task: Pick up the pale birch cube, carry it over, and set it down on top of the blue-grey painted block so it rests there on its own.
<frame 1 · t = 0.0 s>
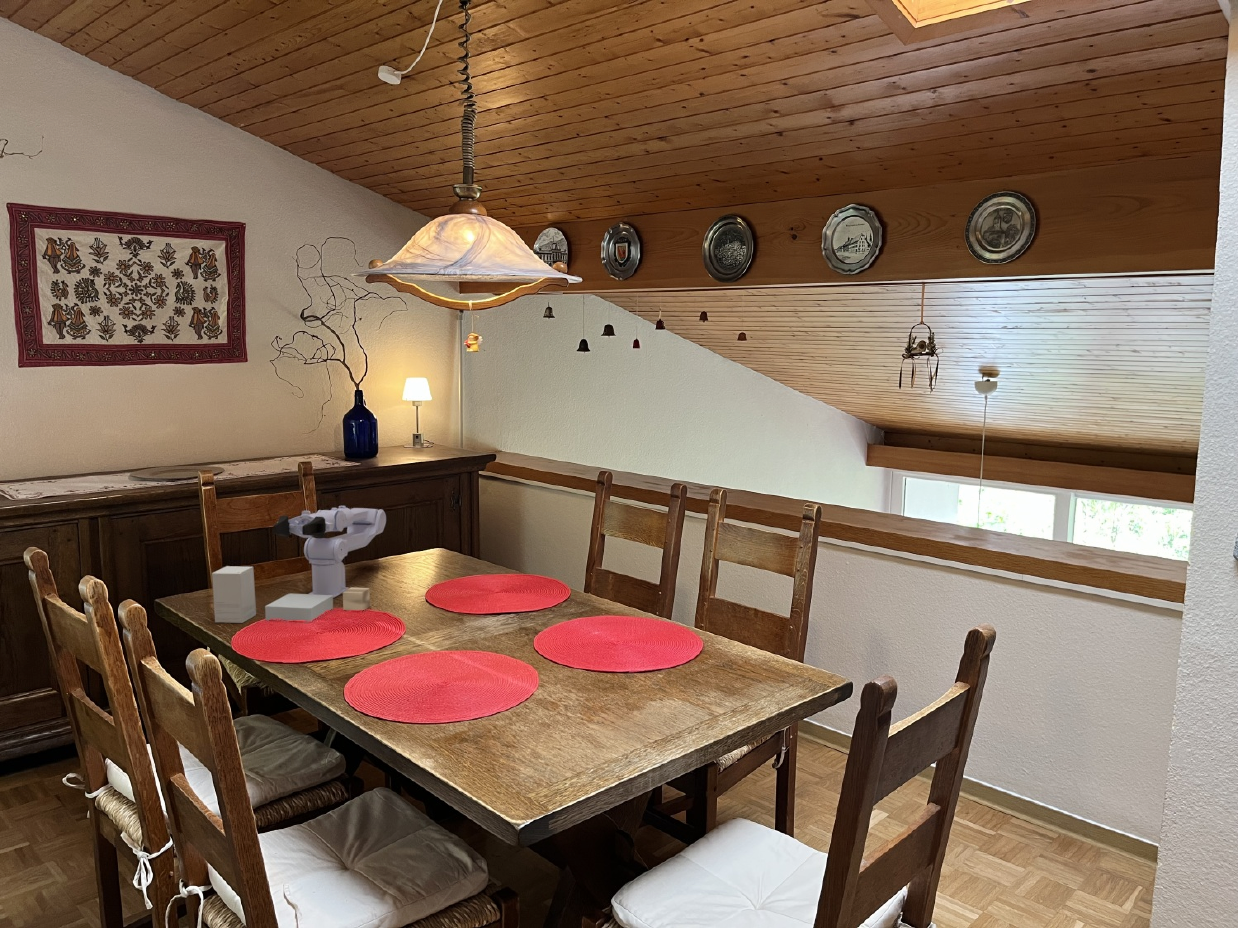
hand: (289, 529, 229), 22 cm above the table, tool horizontal, fingers open, 7 cm apart
supplement box: (235, 619, 228), on the table
birch cube: (356, 609, 237), on the table
grey block: (300, 615, 232), on the table
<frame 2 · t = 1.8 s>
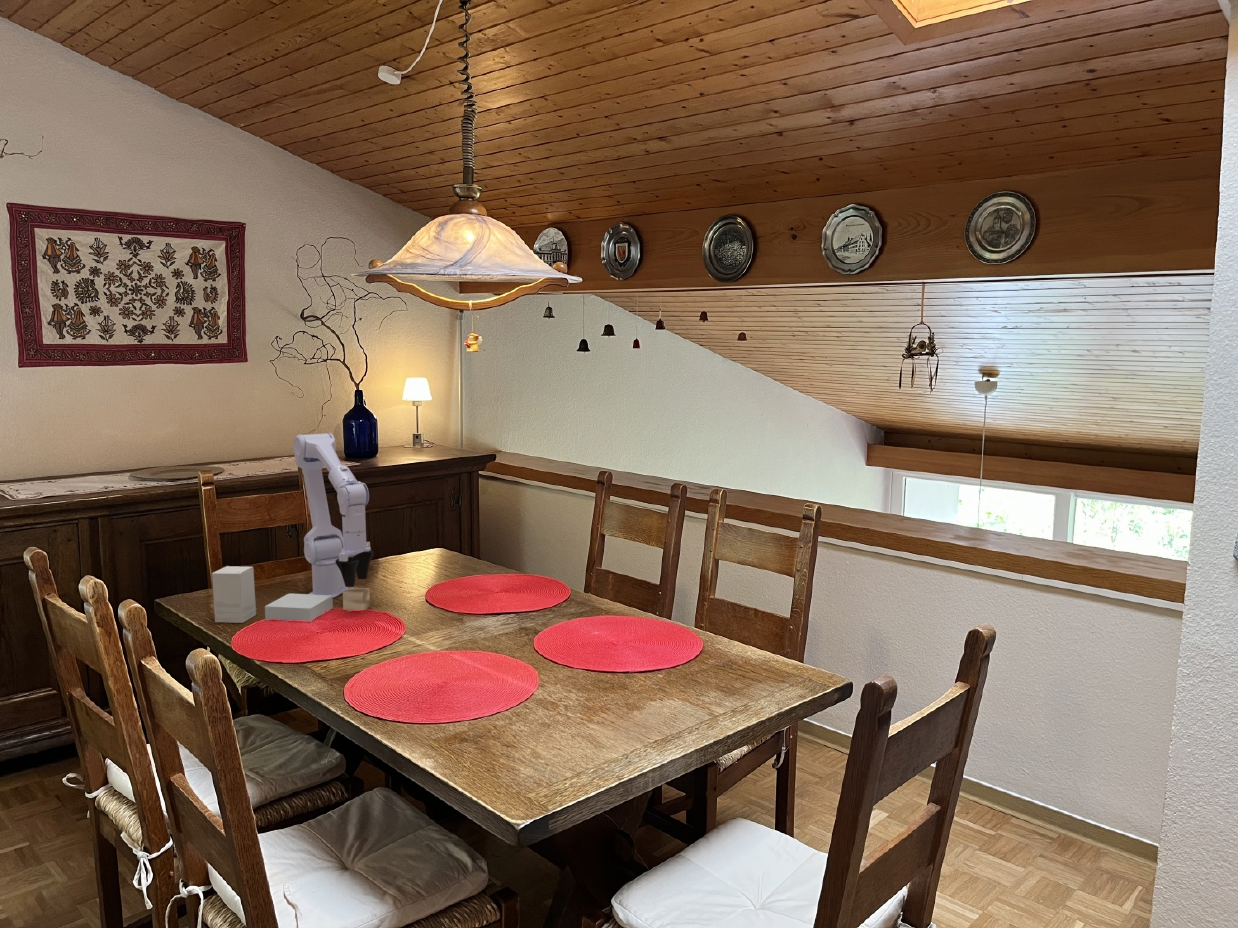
hand: (356, 582, 236), 7 cm above the table, tool pointing down, fingers open, 7 cm apart
nothing on the table moved.
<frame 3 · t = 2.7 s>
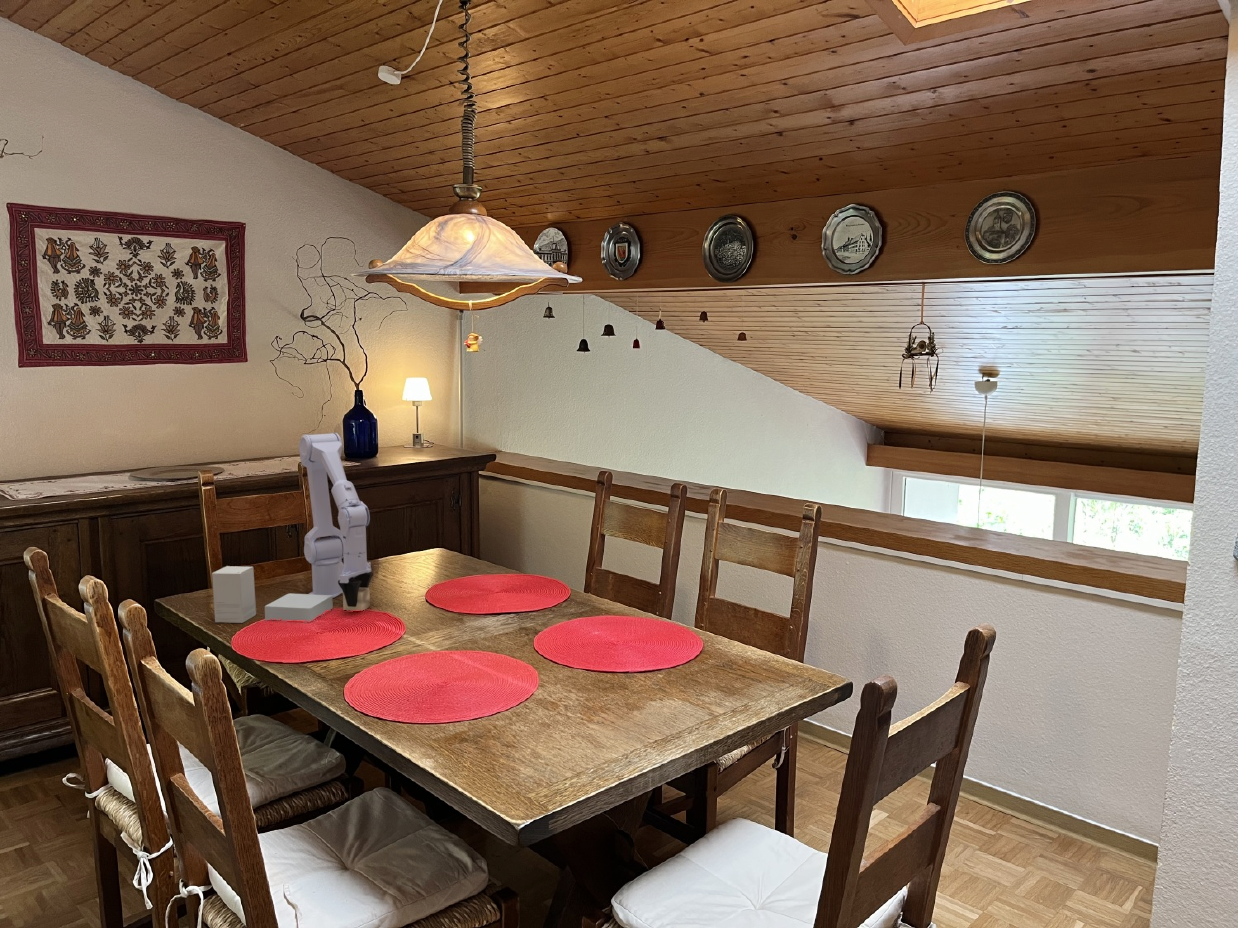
hand: (356, 603, 237), 1 cm above the table, tool pointing down, fingers closed on birch cube, 5 cm apart
birch cube: (356, 608, 237), on the table, touching gripper
everything else where it was.
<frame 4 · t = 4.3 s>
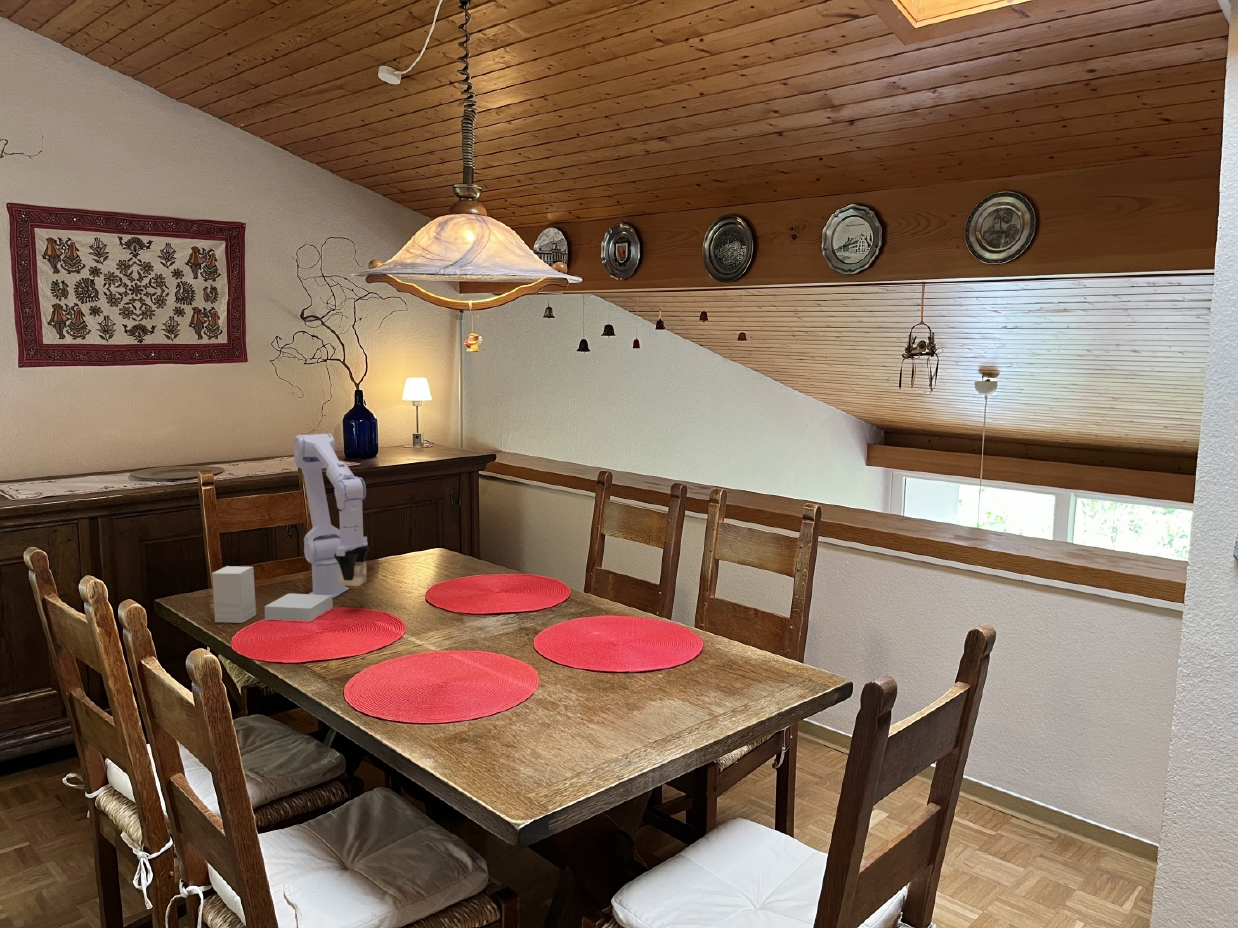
hand: (353, 577, 236), 8 cm above the table, tool pointing down, fingers closed on birch cube, 5 cm apart
birch cube: (353, 582, 236), point 7 cm above the table, touching gripper
everything else where it was.
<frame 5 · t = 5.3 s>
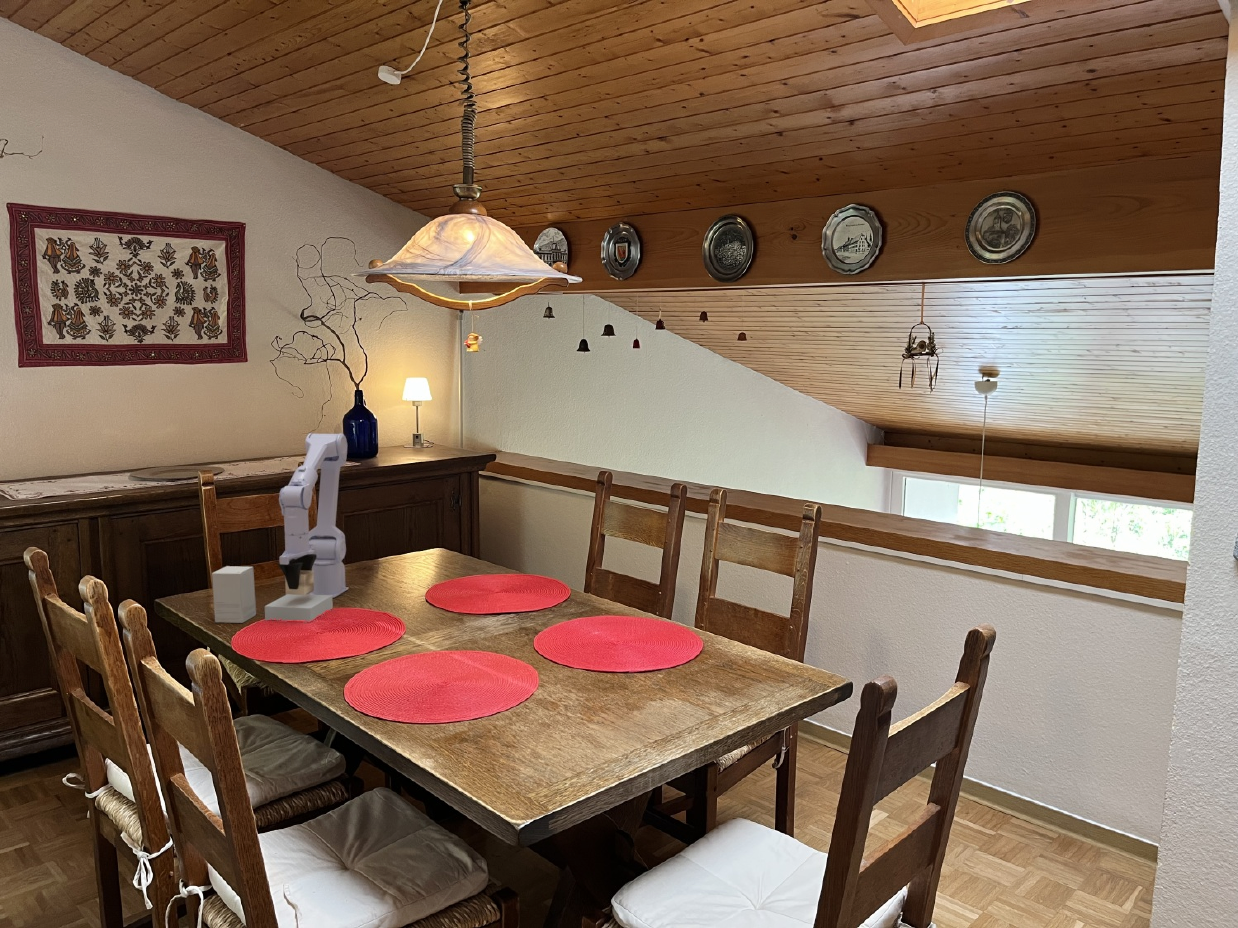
hand: (298, 586, 231), 7 cm above the table, tool pointing down, fingers closed on birch cube, 5 cm apart
birch cube: (299, 591, 231), point 6 cm above the table, touching gripper
everything else where it was.
when the fingers open (6 cm above the table, at t = 5.9 s): birch cube drops 1 cm, point 4 cm above the table.
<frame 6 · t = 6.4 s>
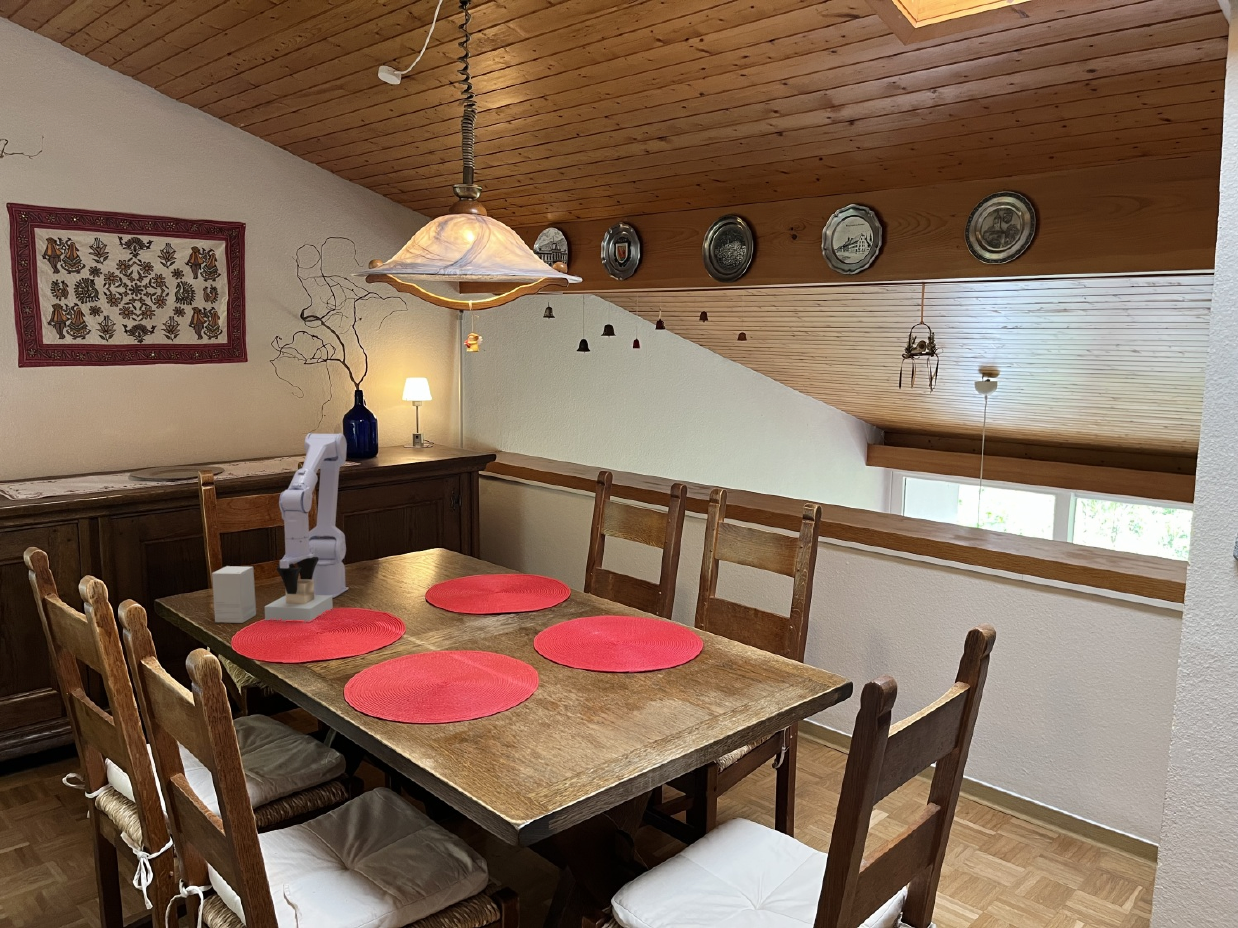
hand: (299, 589, 231), 6 cm above the table, tool pointing down, fingers open, 7 cm apart
birch cube: (300, 600, 231), point 4 cm above the table
everything else where it was.
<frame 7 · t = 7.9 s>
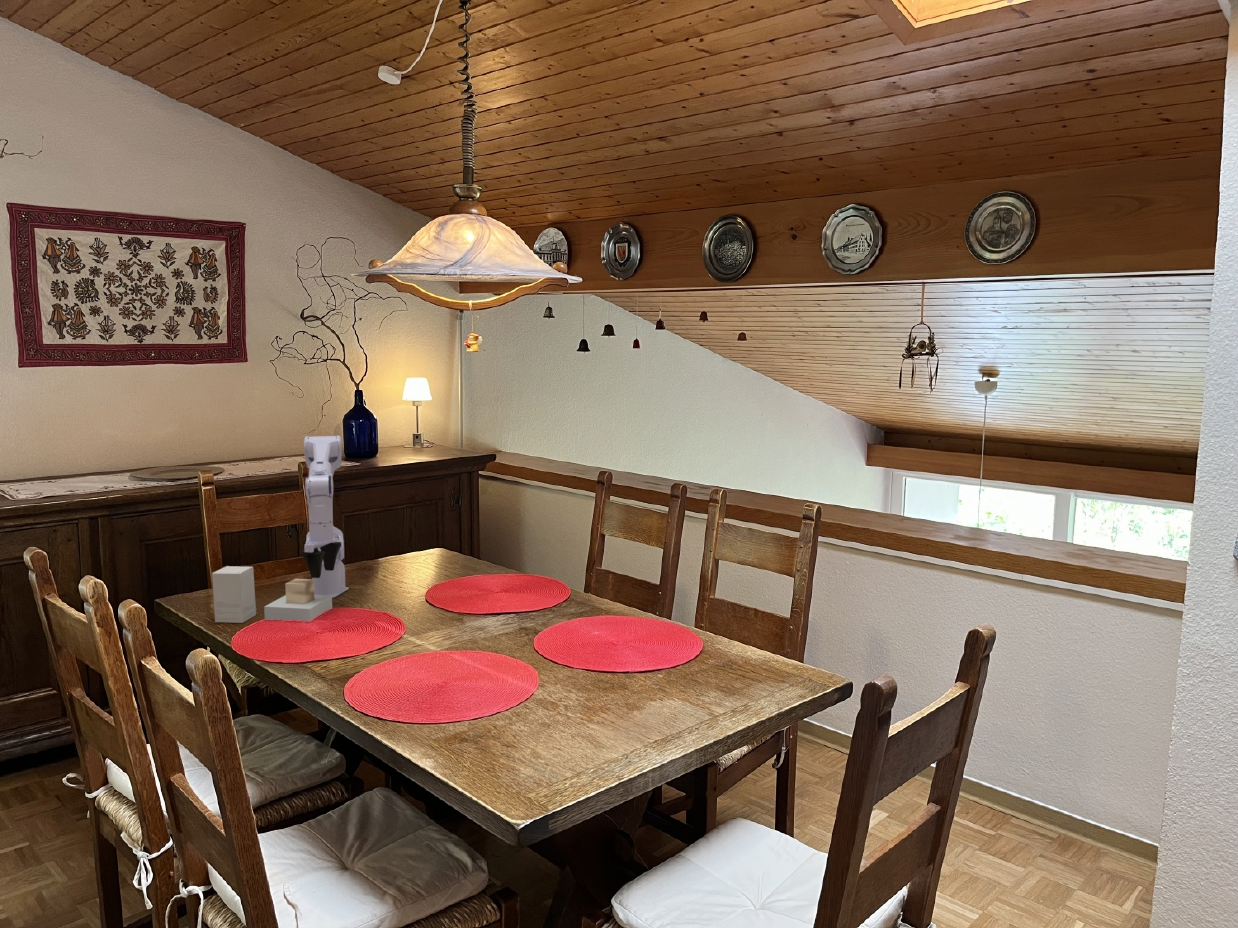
hand: (322, 573, 235), 9 cm above the table, tool pointing down, fingers open, 7 cm apart
birch cube: (300, 600, 231), point 3 cm above the table, touching grey block
grey block: (299, 616, 232), on the table, touching birch cube
everything else where it was.
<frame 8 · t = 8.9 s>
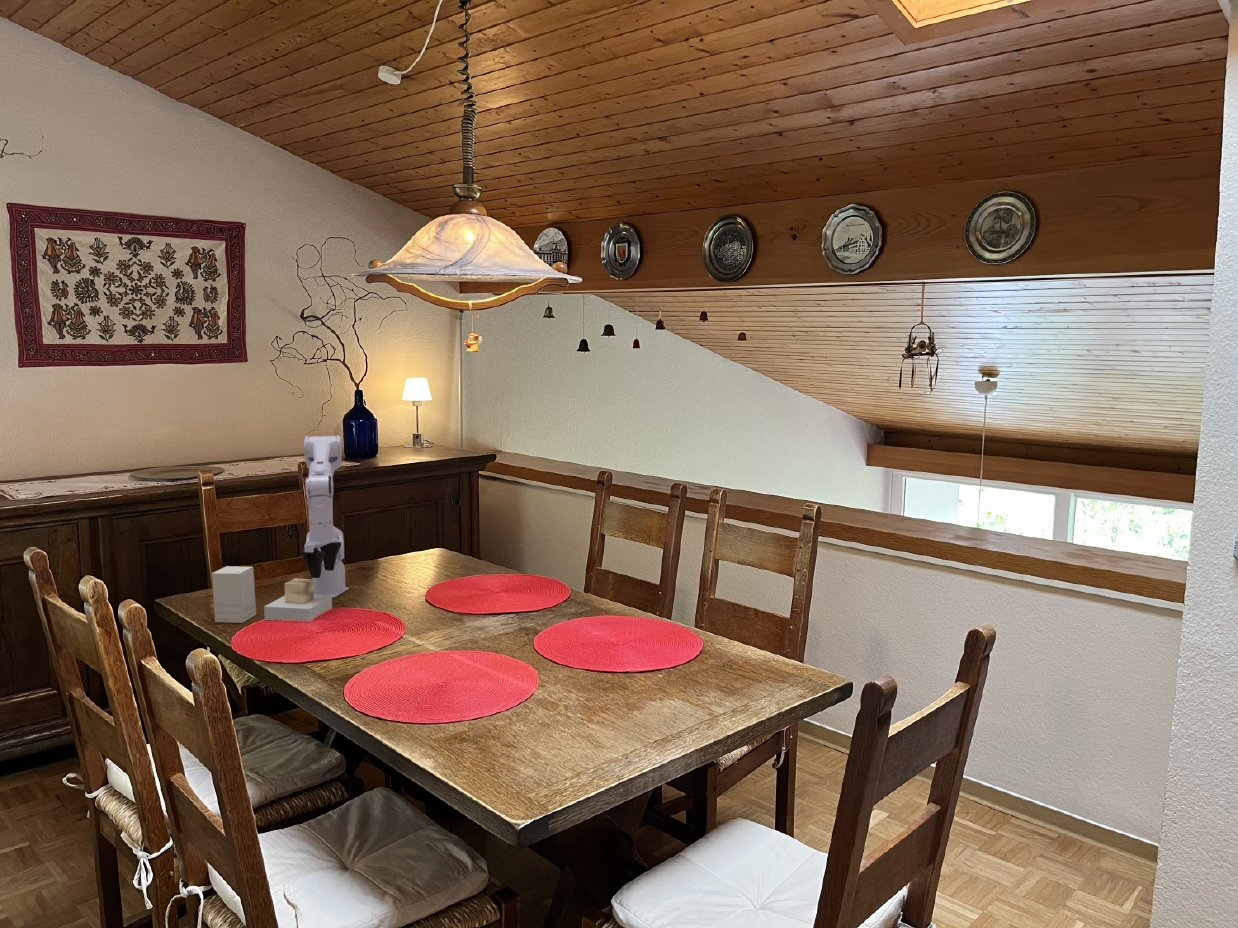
hand: (322, 573, 235), 9 cm above the table, tool pointing down, fingers open, 7 cm apart
birch cube: (299, 600, 232), point 4 cm above the table
grey block: (299, 616, 232), on the table
everything else where it was.
at the end: birch cube inside the target area on the grey block (0.3 cm from its centre), point 4.0 cm above the grey block's base; birch cube touching nothing; birch cube tilted 0° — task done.
